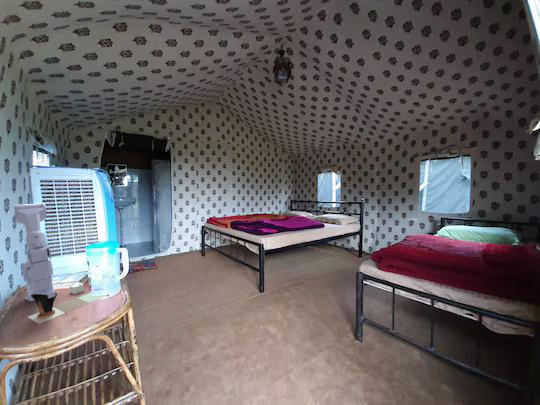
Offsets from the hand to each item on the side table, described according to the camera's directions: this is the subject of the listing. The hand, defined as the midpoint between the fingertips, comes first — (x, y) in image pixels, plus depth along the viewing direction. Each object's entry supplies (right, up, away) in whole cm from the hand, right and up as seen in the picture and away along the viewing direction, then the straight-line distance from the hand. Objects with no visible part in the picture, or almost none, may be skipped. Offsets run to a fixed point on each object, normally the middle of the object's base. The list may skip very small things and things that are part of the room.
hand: (45, 310), depth 99 cm
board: (+4, -1, +8) cm, 9 cm away
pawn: (0, -2, 0) cm, 2 cm away
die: (-3, 0, +20) cm, 20 cm away
